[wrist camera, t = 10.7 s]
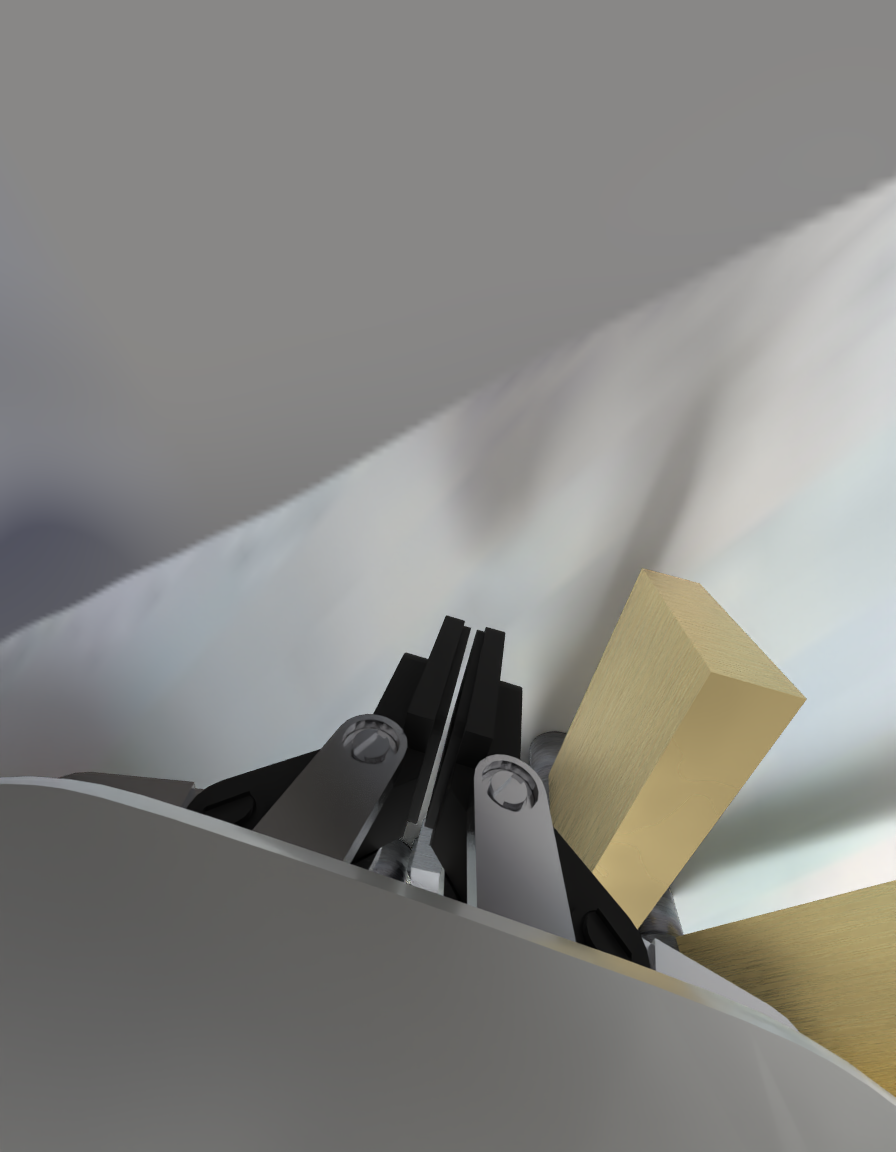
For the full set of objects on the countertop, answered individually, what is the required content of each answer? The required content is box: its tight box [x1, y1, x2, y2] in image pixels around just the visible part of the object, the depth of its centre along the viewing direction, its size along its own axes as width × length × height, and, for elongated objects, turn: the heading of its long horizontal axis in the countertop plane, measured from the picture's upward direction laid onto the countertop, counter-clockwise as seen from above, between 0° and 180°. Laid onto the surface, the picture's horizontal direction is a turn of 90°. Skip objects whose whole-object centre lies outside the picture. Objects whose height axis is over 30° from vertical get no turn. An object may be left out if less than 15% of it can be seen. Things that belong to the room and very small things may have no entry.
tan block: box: [530, 568, 806, 930], centre depth 13 cm, size 11×3×8 cm, turn 167°
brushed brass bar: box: [638, 880, 896, 1097], centre depth 15 cm, size 11×3×8 cm, turn 132°
